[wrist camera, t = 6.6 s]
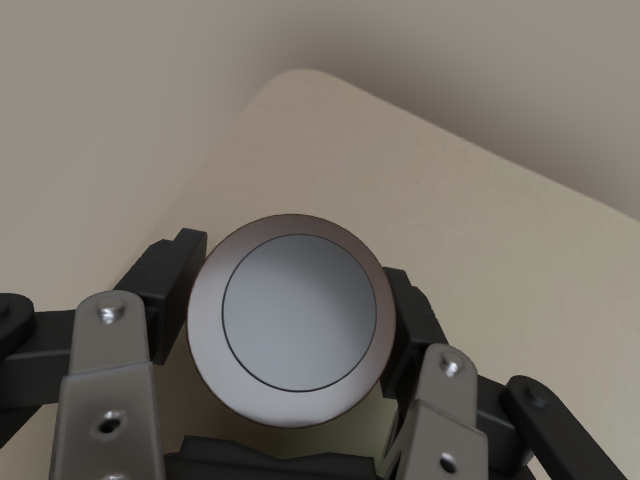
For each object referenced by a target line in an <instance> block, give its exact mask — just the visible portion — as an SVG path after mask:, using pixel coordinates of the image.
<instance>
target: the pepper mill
mask: <svg viewBox="0 0 640 480" xmlns="http://www.w3.org/2000/svg"><path fill="white" fill-rule="evenodd" d="M185 324H186V337H187V343H188V347H189V352H190V355H191V358H192V361H193V363H194V366H195V368H196V370H197V372H198V374H199V376H200V378H201V380H202V381H203V383H204V384H205V385H206V387H207V388H208V389H209V391H210V392H211V393H212V394H213V395H214V396H215V397H216V398H217V399H218V400H219V401H220V402H221V403H222V404H223V405H224V406H225V407H227V408H228V409H229V410H231V411H232V412H233V413H235V414H237V415H238V416H240V417H242V418H244V419H246V420H248V421H250V422H253V423H256V424H259V425H261V426H266V427H271V428H276V429H291V430H293V429H303V428H310V427H314V426H318V425H322V424H324V423H327V422H329V421H332V420H334V419H336V418H338V417H340V416H341V415H343V414H345V413H347V412H348V411H350V410H351V409H352V408H353V407H355V406H356V405H357V404H359V403H360V402H361V401H362V400H363V399H364V398H365V397H366V396H367V395H368V394H369V393H370V391H371V390H372V389H373V387H374V386H375V385H376V383H377V382H378V380H379V379H380V377H381V375H382V373H383V372H384V370H385V368H386V365H387V363H388V360H389V358H390V355H391V352H392V348H393V344H394V338H395V331H396V311H395V302H394V298H393V293H392V289H391V287H390V284H389V281H388V278H387V276H386V274H385V272H384V270H383V268H382V266H381V265H380V263H379V262H378V260H377V258H376V257H375V255H374V254H373V253H372V252H371V251H370V250H369V248H368V247H367V246H366V245H365V244H364V243H363V242H362V241H361V240H360V239H358V238H357V237H356V236H355V235H353V234H352V233H351V232H349V231H348V230H346V229H344V228H343V227H341V226H339V225H337V224H335V223H333V222H330V221H328V220H325V219H322V218H318V217H314V216H309V215H302V214H282V215H274V216H269V217H265V218H261V219H258V220H256V221H253V222H250V223H248V224H246V225H244V226H242V227H241V228H239V229H237V230H236V231H234V232H233V233H231V234H230V235H228V236H227V237H226V238H225V239H224V240H222V241H221V242H220V243H219V244H218V245H217V246H216V247H215V248H214V249H213V251H212V252H211V253H210V254H209V255H208V256H207V258H206V259H205V261H204V263H203V264H202V266H201V267H200V269H199V271H198V273H197V275H196V277H195V279H194V281H193V284H192V287H191V290H190V293H189V298H188V303H187V308H186V323H185Z"/></svg>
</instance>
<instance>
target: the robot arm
mask: <svg viewBox="0 0 640 480" xmlns="http://www.w3.org/2000/svg"><path fill="white" fill-rule="evenodd" d="M206 247H207V232H203V231H198V230H193V229H188V228H182V230H181V231H180V232H179V234H178V235H177V236H176V238H175V239H174V240H173V241H170V240H165V239H162V240H160V241H158V242H156V243H154V244H152V245H150V246H149V247H148V248H147V250H146V251H145V252H144V253H143V254H142V257H140V258H139V259H138V260H137V261H136V263H135V265H133V266H132V267H131V269H130V270H129V271H128V272H127V273H126V274H125V276H124V277H123V278H122V279H121V280H120V281H119V283H118V284H117V285H116V286H115V287H114V289H113V290H110V291H104V292H100V293H97V294H94V295H92V296H89V297H88V298H86V299H85V300H83V301H82V302H81V303H80V304H79V305H78V307H77V309H75V310H66V311H47V312H34V306H33V303H32V301H31V300H30V299H29V298H27V297H25V296H22V295H18V294H12V293H0V449H1V448H2V447H3V446H4V445H5V444H6V443H7V442H8V441H9V440H10V439H11V438H12V437H13V436H14V435H15V433H16V432H17V431H18V430H19V429H20V428H21V427H22V426H23V425H24V424H25V423H26V422H27V421H28V420H29V419H30V418H31V417H32V416H33V415H34V414H35V413H36V412H37V411H38V409H39V408H40V407H41V406H42V405H44V404H51V403H58V402H59V403H58V411H57V418H56V426H55V433H54V441H53V449H52V456H51V464H50V471H49V479H48V480H536V478H535V477H534V475H533V474H532V472H531V471H530V469H529V468H528V466H527V463H528V462H529V461H530V460H531V459H532V458H533V456H534V455H535V456H536V457H537V459H538V460H539V462H540V463H541V465H542V466H543V468H544V469H545V471H546V472H547V474H548V475H549V477H550V478H551V480H628V479H627V478H626V477H625V476H624V475H623V474H622V472H621V471H620V470H619V469H618V468H617V466H616V465H615V464H614V463H613V462H612V461H611V459H610V458H609V457H608V456H607V455H606V453H605V452H604V451H603V450H602V449H601V448H600V446H599V445H598V444H597V443H596V442H595V440H594V439H593V438H592V437H591V436H590V434H589V433H588V432H587V431H586V430H585V429H584V427H583V426H582V425H581V424H580V423H579V421H578V420H577V419H576V418H575V417H574V416H573V414H572V413H571V412H570V411H569V410H568V408H567V407H566V406H565V405H564V404H563V403H562V401H561V400H560V399H559V398H558V397H557V396H556V395H555V394H554V393H553V392H552V391H551V390H550V389H549V388H547V387H546V386H545V385H543V384H542V383H540V382H538V381H537V380H534V379H532V378H530V377H527V376H522V375H516V376H513V377H511V379H510V380H509V381H508V383H507V384H506V386H505V385H502V384H500V383H497V382H495V381H492V380H490V379H487V378H485V377H483V376H480V375H478V373H477V369H476V367H475V365H474V363H473V362H472V361H471V360H470V358H469V357H467V356H466V355H465V354H464V353H463V352H461V351H460V350H458V349H456V348H454V347H452V346H450V345H449V343H448V341H447V339H446V337H445V335H444V333H443V331H442V329H441V326H440V324H439V322H438V320H437V318H435V314H434V312H433V310H432V309H431V305H430V303H429V301H428V299H427V297H426V296H425V295H424V294H423V293H422V292H421V291H420V290H419V289H418V288H417V287H415V286H411V283H410V281H409V279H408V277H407V274H406V272H405V271H404V270H400V269H394V268H389V267H382V268H383V270H384V272H385V274H386V276H387V278H388V281H389V284H390V287H391V289H392V293H393V298H394V302H395V311H396V331H395V338H394V344H393V348H392V352H391V355H390V358H389V360H388V363H387V365H386V368H385V370H384V372H383V373H382V375H381V377H380V379H379V380H380V385H381V389H382V394H383V398H390V399H397V403H398V407H397V409H396V411H395V413H394V416H393V419H392V423H391V426H390V429H389V433H388V436H387V440H386V443H385V446H384V450H383V453H382V457H381V460H380V463H379V467H378V470H377V472H376V470H375V464H374V458H373V457H365V456H356V455H348V454H339V453H331V452H328V453H322V454H316V455H310V456H303V457H297V458H291V459H278V458H275V457H273V456H270V455H268V454H265V453H263V452H260V451H258V450H255V449H253V448H250V447H248V446H245V445H243V444H240V443H238V442H235V441H231V440H222V439H214V438H205V437H197V436H189V435H185V436H184V439H183V442H182V445H181V448H180V451H179V452H173V453H168V454H164V455H163V447H162V438H161V430H160V421H159V412H158V404H157V395H156V386H155V378H154V369H153V364H157V365H164V363H165V361H166V359H167V357H168V355H169V353H170V351H171V349H172V347H173V344H174V342H175V340H176V338H177V336H178V334H179V332H180V330H181V328H182V326H183V323H184V321H185V319H186V308H187V303H188V298H189V293H190V290H191V287H192V284H193V281H194V279H195V277H196V275H197V273H198V271H199V269H200V267H201V266H202V264H203V263H204V261H205V258H206Z"/></svg>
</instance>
